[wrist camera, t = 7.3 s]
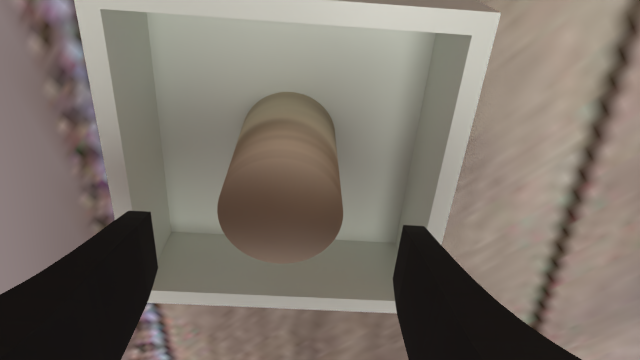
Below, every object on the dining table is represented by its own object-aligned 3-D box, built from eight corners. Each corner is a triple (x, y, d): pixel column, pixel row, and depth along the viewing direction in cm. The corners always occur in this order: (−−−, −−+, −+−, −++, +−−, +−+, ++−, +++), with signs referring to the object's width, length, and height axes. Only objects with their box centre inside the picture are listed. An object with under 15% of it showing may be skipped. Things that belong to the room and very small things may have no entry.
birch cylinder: (330, 179, 21) (336, 266, 16) (242, 173, 21) (218, 260, 16) (339, 95, 19) (350, 163, 14) (242, 88, 19) (215, 154, 14)
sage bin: (403, 242, 24) (423, 314, 20) (163, 230, 23) (130, 302, 19) (455, -12, 18) (500, 12, 14) (131, -37, 17) (70, -20, 13)
